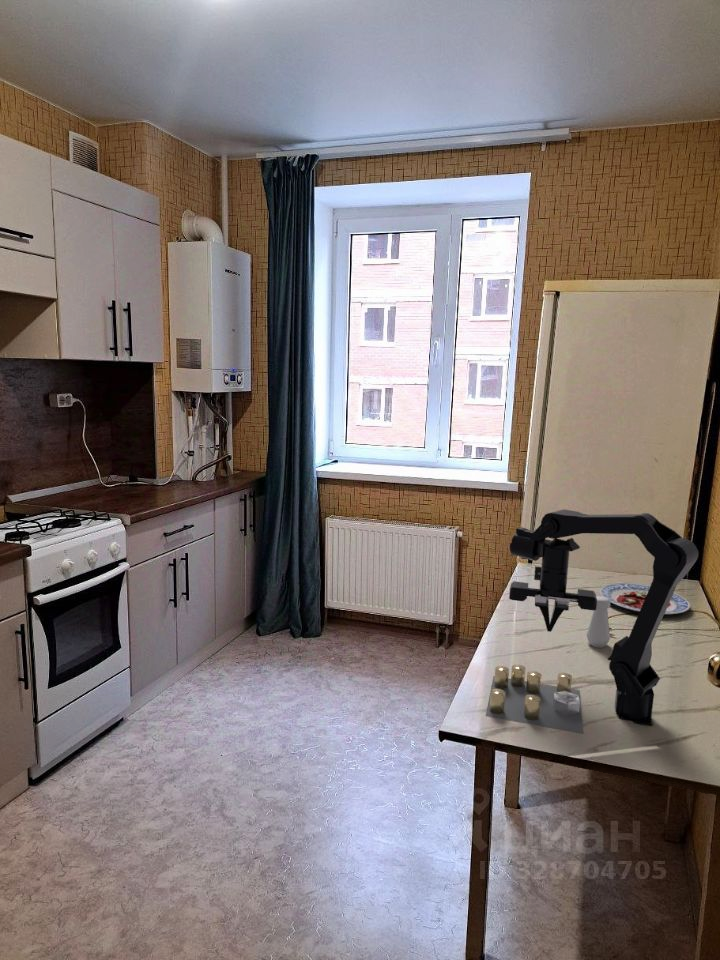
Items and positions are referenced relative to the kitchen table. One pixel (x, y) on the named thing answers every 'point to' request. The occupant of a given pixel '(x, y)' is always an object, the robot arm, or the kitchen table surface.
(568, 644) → the kitchen table surface
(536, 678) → the brass spacers
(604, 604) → the salt shaker
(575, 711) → the clear faceted crystal
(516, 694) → the mat
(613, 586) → the ceramic plate
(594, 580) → the kitchen table surface
